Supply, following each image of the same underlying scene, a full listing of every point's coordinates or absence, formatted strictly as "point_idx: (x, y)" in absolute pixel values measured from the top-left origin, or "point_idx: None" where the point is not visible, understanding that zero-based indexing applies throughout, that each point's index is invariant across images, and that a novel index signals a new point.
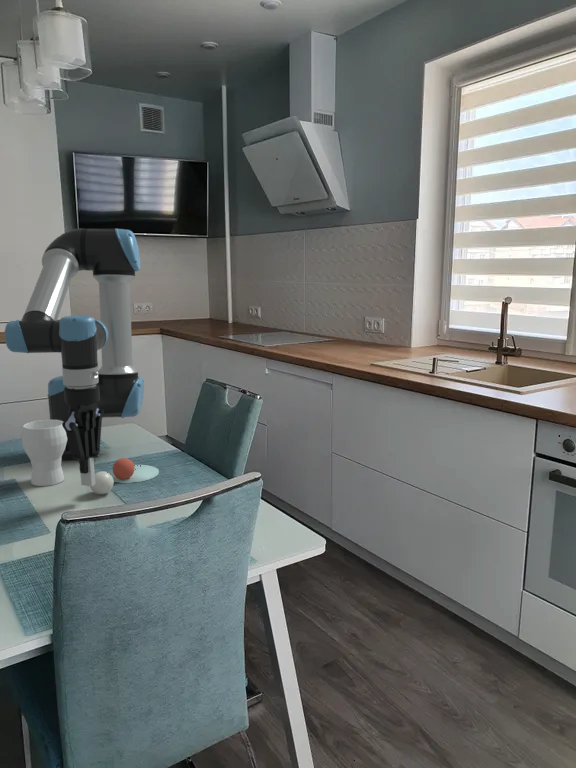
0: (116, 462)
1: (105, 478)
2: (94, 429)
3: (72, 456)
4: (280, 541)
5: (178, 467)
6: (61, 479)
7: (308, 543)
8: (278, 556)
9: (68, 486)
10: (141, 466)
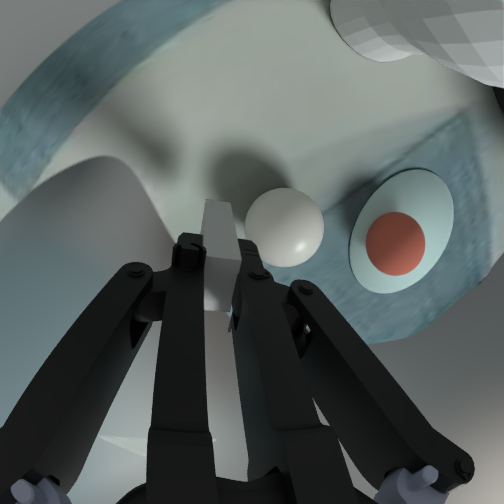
0: (403, 241)
1: (267, 260)
2: (341, 410)
3: (117, 276)
4: (141, 445)
5: (417, 309)
6: (373, 57)
7: None
8: (112, 443)
9: (335, 86)
10: (440, 242)
